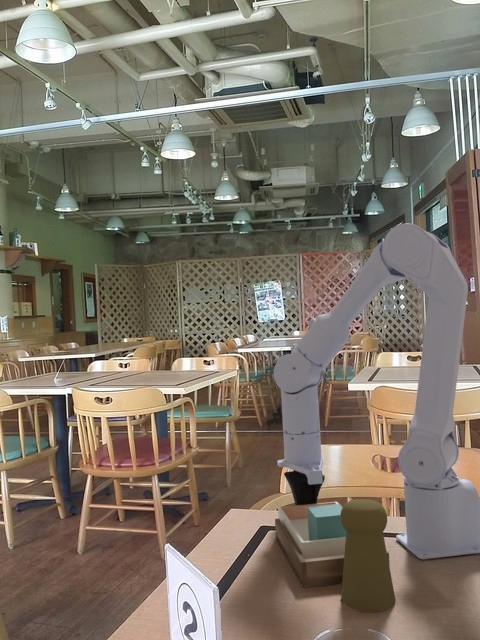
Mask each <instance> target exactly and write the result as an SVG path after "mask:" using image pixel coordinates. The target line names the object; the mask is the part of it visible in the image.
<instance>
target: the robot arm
mask: <svg viewBox="0 0 480 640" xmlns="http://www.w3.org/2000/svg"><path fill="white" fill-rule="evenodd" d="M407 277H408V278H410V279H411V280H412V281H413V282H414V283H415V284H416V286H417V287H418V288H419V289H420V290H421V291H422V292H423V293H424V294H425V295H426V296H427V299H428V300H427V306H426V314H425V315H426V317H425V322H424V323H425V325H424V332H423V342H422V349H421V359H420V366H419V373H418V375H419V376H418V383H417V390H416V391H417V392H416V400H415V409H414V414H413V416H412V418H411V422H410V424H409V427H408V434H407V438H406V440H405V442H404V444H403V445H402V446H401V448H400V450H399V452H398V456H397V464H398V467H399V468H398V469H399V471H400V472H401V474H402V476H403V490H404V491H403V492H404V494H403V495H404V509H405V527H406V529H405V530H406V531H405V532H406V533H402V534H397V535H396V536H395V538H396V540H397V541H398V542H400V544H402V545H403V546H404V547H405V548H406V549H407V550H409V551H410V552H411V554H413V555H414V556H415V557H416V558H417V559H420V560H430V559H438V558H447V557H455V556H456V557H457V556H462V555H472V554H480V496H479V492H478V490H477V487H476V486H475V485H474V483H473V482H472V481H470V480H469V479H468V478H459V476H457V473H456V472H455V470H454V469H453V466H455V465H456V463H457V461H458V459H459V456H460V455H459V454H460V450H459V445H458V442H457V439H456V437H455V430H456V429H455V427H456V421H455V418H454V407H455V399H456V392H457V382H458V374H459V368H460V357H461V352H462V342H463V334H464V328H465V327H464V325H465V318H466V311H467V310H466V309H467V301H468V293H469V286H468V285H469V284H468V282H467V280H466V278H465V276H464V274H463V273H462V270H461V269H460V267H459V266H458V263H457V262H456V260H455V257H454V256H453V254H452V252H451V249H450V247H449V246H448V244H446V243H445V242H444V241H443V240H441V239H440V238H439V237H438V236H437V235H435V233H433V232H429V231H427V230H424V228H422V227H420V226H419V225H417V224H413V223H403V224H402V223H401V224H398V225H396V226H395V227H394V226H393V228H392V229H390V230H389V231H388V232H387V233H386V235H385V237H384V239H383V241H382V242H379V243H378V244H377V245H376V246H375V247H374V248H373V250H372V252H371V253H370V254H369V257H368V258H367V261H365V263H364V265H363V266H362V268H361V269H360V271H359V272H358V274H357V275H356V276H355V278H354V279H353V280H352V281H351V283H350V285H349V286H348V288H347V289H346V290H345V292H344V294H343V295H342V296H341V298H340V300H338V302H337V304H336V305H335V306H334V308H333V309H332V311H331V312H330V313H324V314H323V313H322V314H319V315H317V318H315V317H314V318H311V319H309V321H308V322H307V326H308V327H309V328H308V329H307V331H306V332H305V333H304V334H303V336H301V338H300V340H299V341H298V342H297V343H293V344H292V345H291V347H290V351H291V353H287V354H284V355H282V356H280V357H278V358H277V362H276V363H275V366H274V367H273V379H274V383H276V385H277V387H278V388H279V389H280V393H281V394H280V397H281V413H282V415H281V416H282V417H281V418H282V431H283V434H282V435H283V452H284V459H278V460H277V461H276V464H277V466H278V467H279V468H288V469H290V470H292V471H286V472H284V473H283V476H284V477H285V479H286V481H287V483H288V485H289V488H290V490H291V493H292V497H293V500H294V506H295V505H305V504H315V503H317V502H318V498H319V494H320V490H321V488H322V486H323V485H324V482H325V475H324V474H323V470H322V469H323V466H324V459H323V457H322V443H321V442H322V441H321V439H322V438H321V425H320V424H321V423H320V406H319V405H320V404H319V390H318V387H319V385H320V383H321V382H323V381H322V380H323V378H324V370H326V368H328V366H329V365H330V364H331V362H332V361H333V360H334V358H335V357H336V356H337V355H338V354H339V353H340V351H342V349H343V348H344V346H345V345H346V344H347V342H348V341H349V340H350V325H351V324H352V323H353V322H354V321H356V318H357V317H358V316H359V315H360V314H361V313H362V312H363V311H364V309H366V307H367V306H368V305H369V304H370V302H371V301H372V300H373V299H374V298H375V297H376V295H378V293H380V292H381V290H382V289H383V288H384V287H385V286H387V285H390V284H393V283H396V282H399V281H402V280H404V279H407Z"/></svg>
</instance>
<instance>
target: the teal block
mask: <svg viewBox="0 0 480 640" xmlns="http://www.w3.org/2000/svg"><path fill="white" fill-rule="evenodd" d="M342 508H343V506H342V505H341V503H339V504H332V505H322V506H311V507H307V513H308V532H309V541H312V540H321V539H331V538H340V537H346V530H345V529H344V528H343V525H342V522H341V516H340V514H341V509H342Z"/></svg>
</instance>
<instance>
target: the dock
mask: <svg viewBox="0 0 480 640" xmlns="http://www.w3.org/2000/svg"><path fill="white" fill-rule="evenodd" d="M274 525H275V526H274V527H275V529H274V530H275V540H276V542H277V544H278V546H279V547H280V549H281V551H282V553H283V555H284V557H285V558H286V560H287V562H288V564H289V566H290V567H291V569H292V572H293V573H294V575H295V576H296V578H297V580H298V582H299V583H300V586H301V587H302V588H310V587H321V586H331V585H337V584H342V581H343V568H344V555H340V556H331V557H322V558H313V559H304V558H303V556H302V554H301V553H300V551H299V550H298V548H297V547H296V545H295V543H294V542H293V540H292V539H291V537H290V535H289V534H288V532H287V531H286V529H285V527H284V526H283V524H282V523H281V521H280V519H279V518H274ZM387 556H388V562H389V567H390V568H391V566H390V564H391V563H390V553H389V551H387Z"/></svg>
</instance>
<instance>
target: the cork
mask: <svg viewBox="0 0 480 640" xmlns="http://www.w3.org/2000/svg"><path fill="white" fill-rule="evenodd" d="M342 507H343V508H342V509H341V514H340V516H341V522H342V525H343V528H344V529H345V530H346V541H345V554H344V568H343V581H342V583H341V594H340V598H341V602H342V603H343V604H344V605H345V607H348V608H349V609H352V610H355V611H358V612H362V613H363V612H364V613H365V612H366V613H379V612H384V611H388V610H390V609H392V608H393V607H394V606H395V604H396V600H397V599H396V595H395V594H396V593H395V591H394V590H395V589H394V584H393V578H392V574H391V566H390V567H389V564H390V561H389V562H388V556H387V552H388V551H387V547H386V540H385V537H384V531H385V529H386V528H387V523H388V514H387V511H386V509H385V507H384V506H383V504H382V503H381V502H378V501H376V500H373V499H366V498H358V499H351V500H349V501H347V502H345V503H344V504H343V506H342Z"/></svg>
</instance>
